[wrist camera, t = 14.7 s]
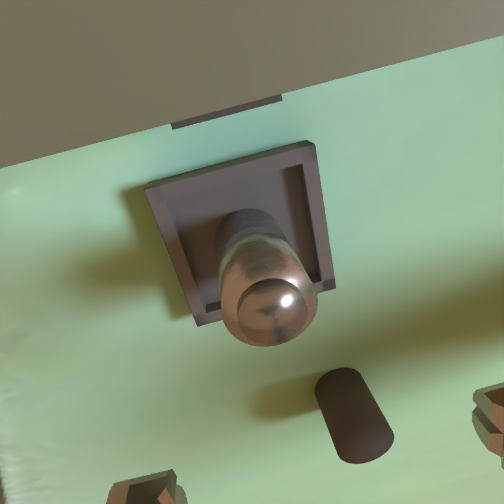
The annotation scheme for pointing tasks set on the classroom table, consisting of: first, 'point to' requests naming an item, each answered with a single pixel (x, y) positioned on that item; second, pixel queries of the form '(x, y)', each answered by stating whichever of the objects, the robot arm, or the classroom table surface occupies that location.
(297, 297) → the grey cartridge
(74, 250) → the classroom table surface
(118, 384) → the classroom table surface
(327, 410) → the cylinder
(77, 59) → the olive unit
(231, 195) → the tray
